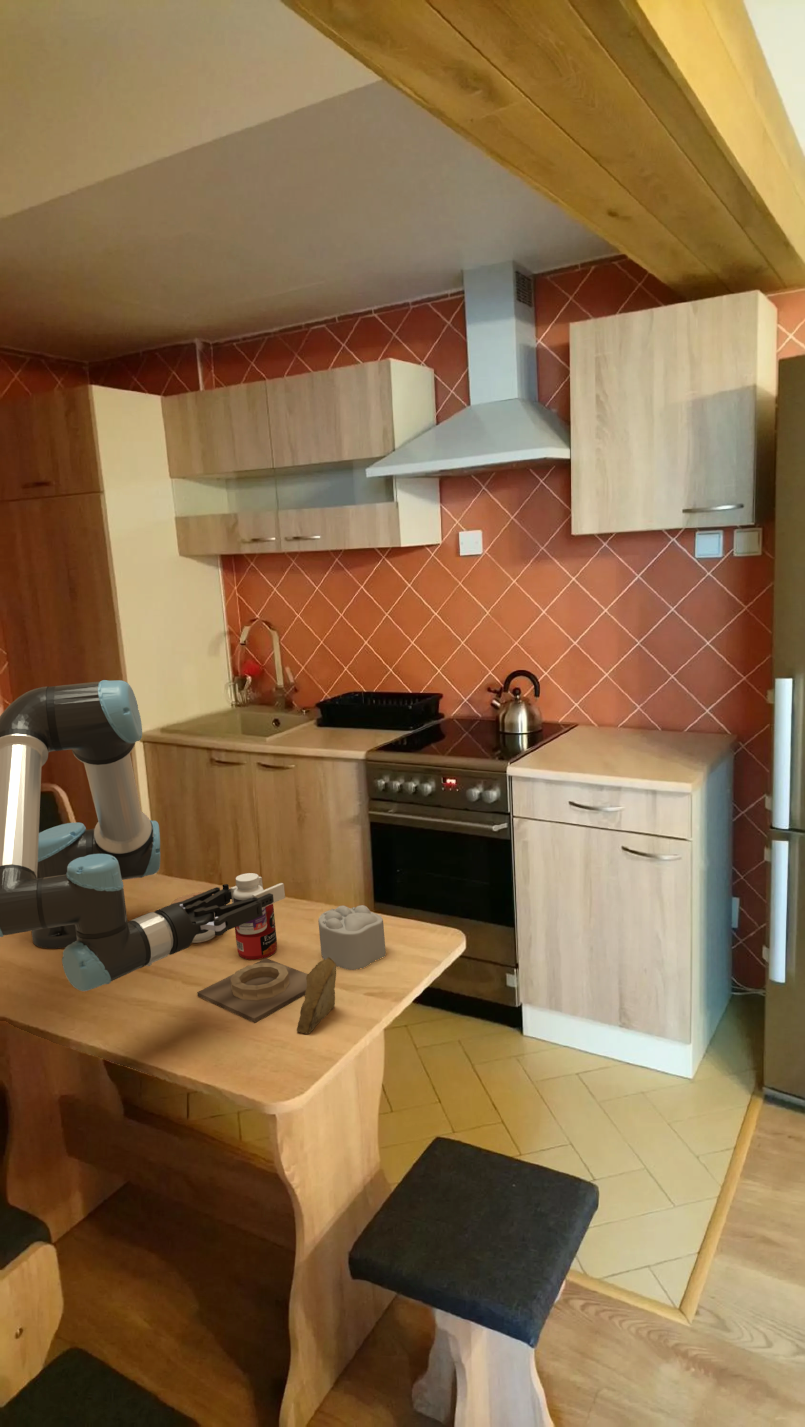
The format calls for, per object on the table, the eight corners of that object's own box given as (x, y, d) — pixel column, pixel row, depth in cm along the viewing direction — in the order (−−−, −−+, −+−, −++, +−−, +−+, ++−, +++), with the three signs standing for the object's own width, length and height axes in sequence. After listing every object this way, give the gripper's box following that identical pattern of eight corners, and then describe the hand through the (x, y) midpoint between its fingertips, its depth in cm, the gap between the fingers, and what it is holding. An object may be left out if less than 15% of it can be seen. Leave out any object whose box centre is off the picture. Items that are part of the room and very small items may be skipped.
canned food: (270, 961, 171) (264, 907, 169) (231, 960, 173) (225, 906, 171) (283, 943, 178) (278, 892, 176) (245, 942, 180) (240, 891, 178)
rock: (312, 1031, 140) (359, 998, 147) (284, 983, 142) (331, 953, 149) (288, 1046, 148) (333, 1015, 155) (262, 1002, 150) (307, 972, 156)
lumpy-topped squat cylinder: (353, 973, 164) (350, 929, 162) (308, 955, 172) (304, 913, 171) (393, 952, 171) (389, 910, 169) (347, 936, 180) (343, 895, 178)
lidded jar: (209, 950, 178) (204, 905, 176) (164, 945, 181) (158, 902, 180) (236, 927, 188) (231, 885, 186) (192, 924, 191) (187, 882, 189)
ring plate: (197, 996, 159) (195, 981, 158) (266, 961, 171) (264, 948, 170) (254, 1022, 148) (253, 1007, 148) (323, 984, 160) (322, 969, 160)
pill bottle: (261, 935, 154) (256, 882, 152) (232, 935, 155) (226, 882, 153) (271, 922, 159) (266, 871, 157) (243, 922, 160) (237, 871, 158)
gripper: (132, 941, 150) (242, 896, 167) (197, 970, 137) (308, 917, 154) (127, 899, 148) (238, 858, 165) (191, 924, 136) (304, 877, 153)
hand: (271, 887), depth 160 cm, fingers closed on pill bottle, 5 cm apart
